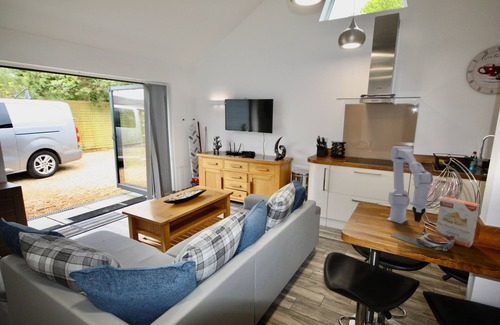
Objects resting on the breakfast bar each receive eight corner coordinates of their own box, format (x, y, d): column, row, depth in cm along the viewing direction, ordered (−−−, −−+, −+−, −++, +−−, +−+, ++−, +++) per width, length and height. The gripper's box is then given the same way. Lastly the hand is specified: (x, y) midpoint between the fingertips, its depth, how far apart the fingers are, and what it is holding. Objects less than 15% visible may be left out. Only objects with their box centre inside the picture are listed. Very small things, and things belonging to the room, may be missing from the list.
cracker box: (434, 237, 129) (440, 198, 125) (438, 234, 132) (444, 195, 129) (469, 248, 118) (476, 206, 114) (472, 244, 121) (480, 203, 117)
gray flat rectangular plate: (394, 233, 133) (394, 232, 133) (427, 243, 122) (427, 243, 122) (390, 236, 129) (390, 235, 129) (423, 247, 118) (423, 246, 118)
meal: (424, 226, 131) (456, 235, 121) (422, 234, 132) (454, 244, 122) (416, 235, 121) (450, 246, 111) (414, 243, 121) (448, 255, 112)
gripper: (412, 191, 134) (408, 215, 137) (410, 198, 122) (407, 224, 125) (428, 193, 130) (424, 218, 133) (427, 200, 118) (424, 227, 121)
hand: (417, 221), depth 128 cm, fingers closed
